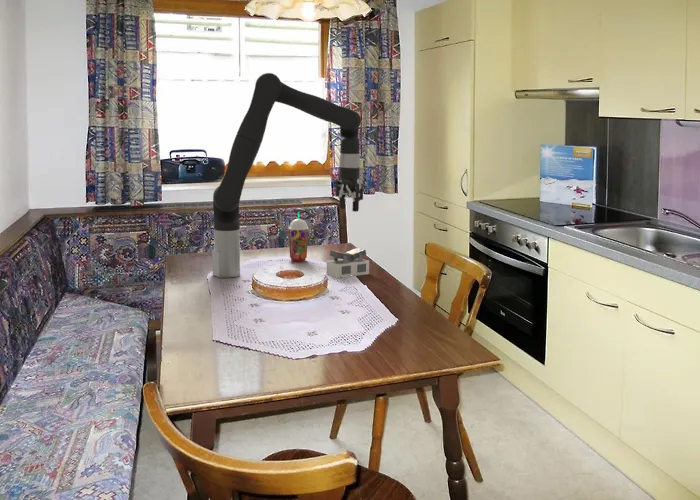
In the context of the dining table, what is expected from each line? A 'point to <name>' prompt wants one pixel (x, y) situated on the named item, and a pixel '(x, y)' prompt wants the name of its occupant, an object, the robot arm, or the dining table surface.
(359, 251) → the rocker
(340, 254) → the rocker
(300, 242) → the smoothie
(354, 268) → the rocker switch box
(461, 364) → the dining table surface
